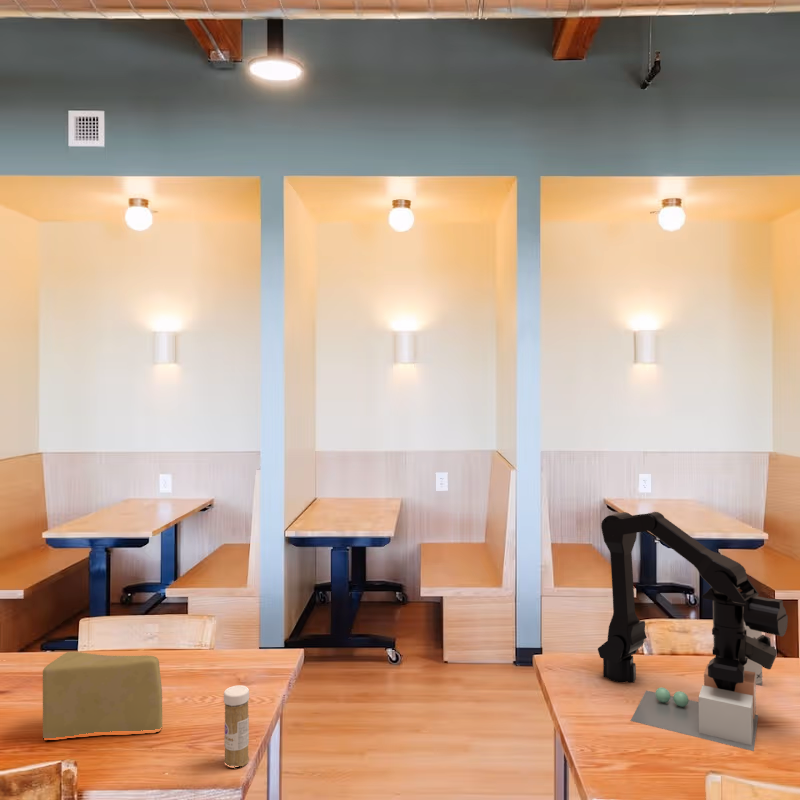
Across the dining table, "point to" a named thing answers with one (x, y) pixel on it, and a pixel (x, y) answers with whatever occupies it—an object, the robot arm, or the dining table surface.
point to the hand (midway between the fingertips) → (730, 699)
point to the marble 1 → (662, 695)
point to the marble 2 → (680, 699)
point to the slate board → (679, 719)
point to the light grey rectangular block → (726, 714)
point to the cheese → (101, 694)
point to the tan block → (738, 685)
